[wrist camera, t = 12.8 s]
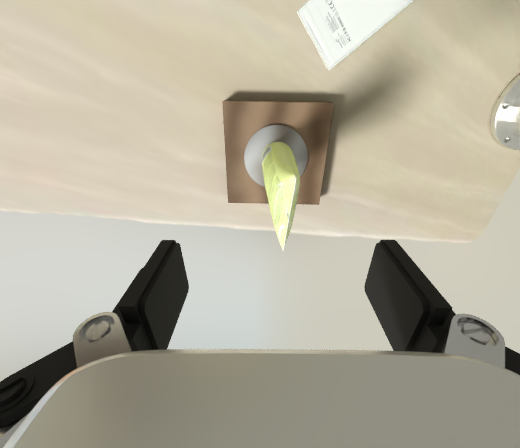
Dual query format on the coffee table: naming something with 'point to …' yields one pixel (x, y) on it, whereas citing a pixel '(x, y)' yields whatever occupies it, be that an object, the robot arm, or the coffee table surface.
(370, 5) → the external hard drive
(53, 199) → the coffee table surface
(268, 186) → the tube
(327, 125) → the walnut base
